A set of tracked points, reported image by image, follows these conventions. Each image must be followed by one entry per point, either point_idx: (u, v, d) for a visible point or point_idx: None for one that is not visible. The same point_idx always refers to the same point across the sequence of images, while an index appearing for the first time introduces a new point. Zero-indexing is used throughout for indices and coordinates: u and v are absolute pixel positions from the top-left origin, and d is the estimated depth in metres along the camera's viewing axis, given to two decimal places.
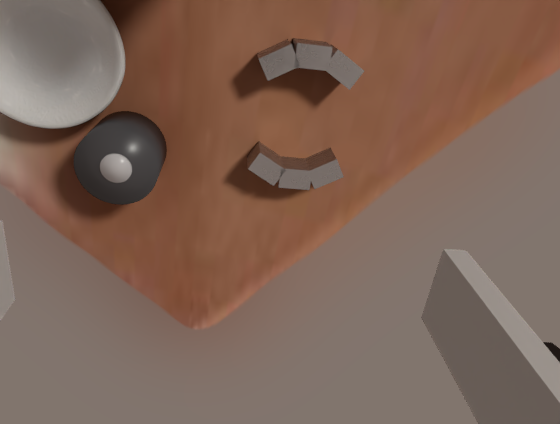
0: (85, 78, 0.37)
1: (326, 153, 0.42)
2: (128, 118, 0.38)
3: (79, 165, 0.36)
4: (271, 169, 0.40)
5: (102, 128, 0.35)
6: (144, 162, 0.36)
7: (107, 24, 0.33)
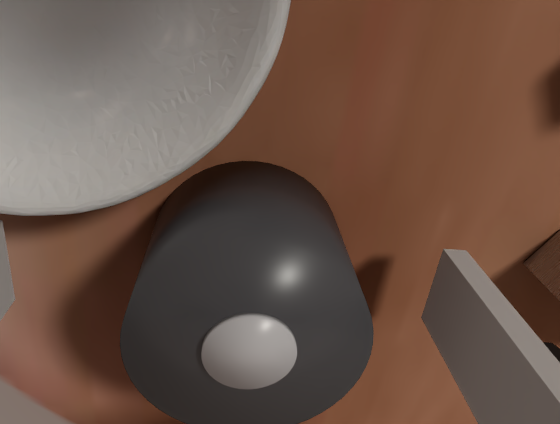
0: (138, 63, 0.12)
1: None
2: (271, 189, 0.13)
3: (137, 347, 0.12)
4: None
5: (219, 241, 0.11)
6: (336, 333, 0.12)
7: None
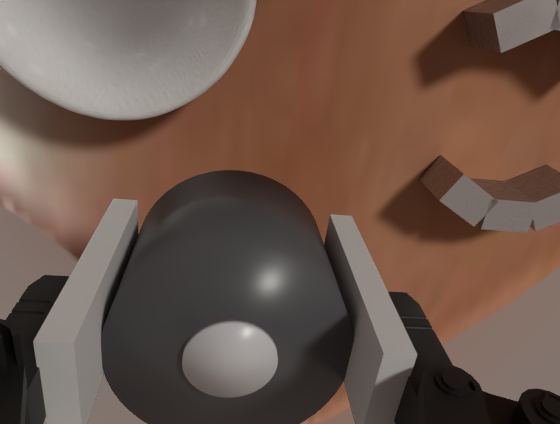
0: (173, 37, 0.21)
1: (546, 173, 0.26)
2: (252, 197, 0.13)
3: (117, 356, 0.12)
4: (476, 201, 0.24)
5: (197, 248, 0.11)
6: (316, 340, 0.12)
7: None
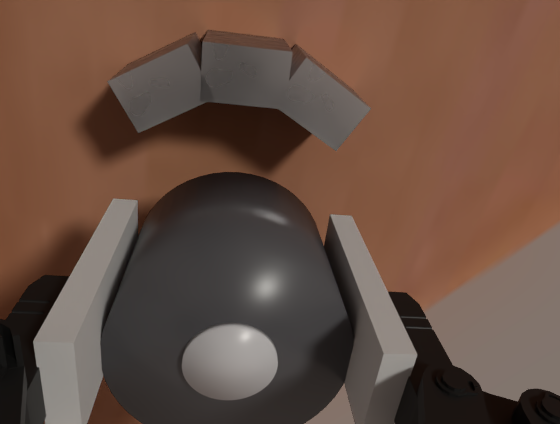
0: None
1: None
2: (252, 199, 0.13)
3: (117, 359, 0.11)
4: None
5: (197, 251, 0.11)
6: (316, 342, 0.12)
7: None
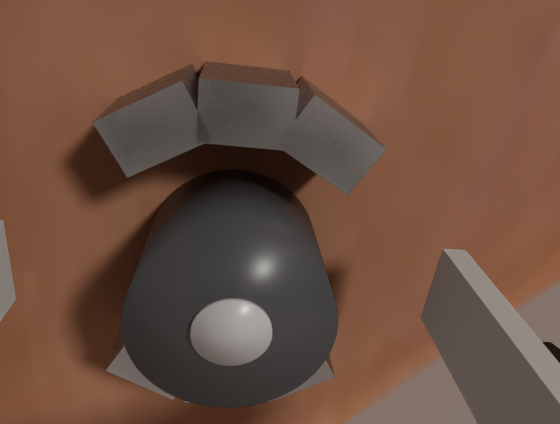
0: None
1: None
2: (250, 193, 0.15)
3: (135, 328, 0.13)
4: None
5: (203, 236, 0.13)
6: (305, 315, 0.14)
7: None
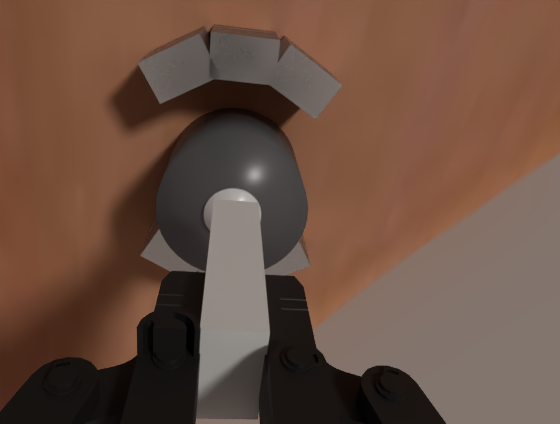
0: None
1: None
2: (247, 121, 0.21)
3: (165, 210, 0.19)
4: None
5: (213, 141, 0.18)
6: (284, 203, 0.20)
7: None
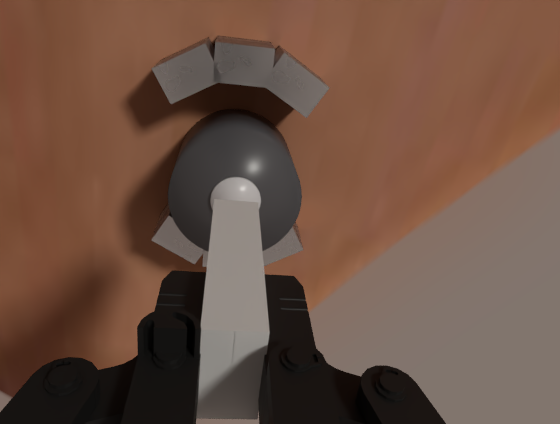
0: None
1: None
2: (247, 120, 0.24)
3: (176, 196, 0.22)
4: None
5: (220, 135, 0.21)
6: (281, 190, 0.22)
7: None
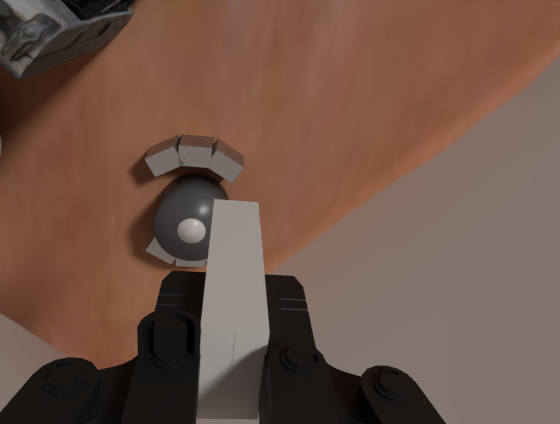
0: None
1: None
2: (201, 183, 0.42)
3: (158, 227, 0.40)
4: None
5: (182, 196, 0.39)
6: None
7: None
